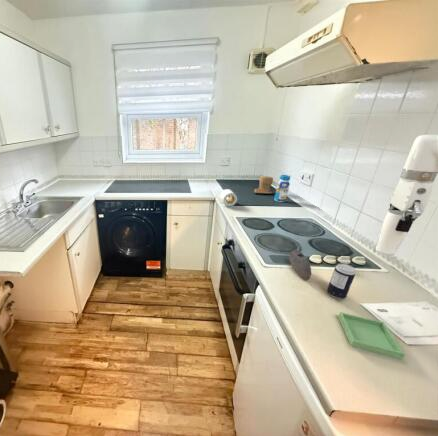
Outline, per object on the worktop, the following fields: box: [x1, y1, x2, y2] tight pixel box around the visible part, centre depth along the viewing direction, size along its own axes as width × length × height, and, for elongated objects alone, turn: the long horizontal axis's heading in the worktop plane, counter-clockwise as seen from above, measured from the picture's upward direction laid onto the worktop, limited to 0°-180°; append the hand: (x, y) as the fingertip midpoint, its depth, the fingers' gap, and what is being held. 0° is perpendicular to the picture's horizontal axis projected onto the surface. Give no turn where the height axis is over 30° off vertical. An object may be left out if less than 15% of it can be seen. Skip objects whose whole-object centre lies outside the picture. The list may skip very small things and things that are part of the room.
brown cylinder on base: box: [254, 175, 274, 195], centre depth 204 cm, size 15×12×15 cm
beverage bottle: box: [273, 174, 291, 203], centre depth 183 cm, size 8×8×20 cm
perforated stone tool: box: [288, 249, 312, 281], centre depth 98 cm, size 15×5×7 cm, turn 168°
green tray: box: [337, 311, 406, 360], centre depth 70 cm, size 11×12×2 cm
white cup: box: [375, 209, 414, 256], centre depth 83 cm, size 7×7×15 cm
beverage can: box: [326, 263, 356, 300], centre depth 85 cm, size 6×6×12 cm
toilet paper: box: [219, 188, 238, 207], centre depth 178 cm, size 10×10×10 cm
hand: (395, 226), depth 82 cm, fingers closed on white cup, 6 cm apart
